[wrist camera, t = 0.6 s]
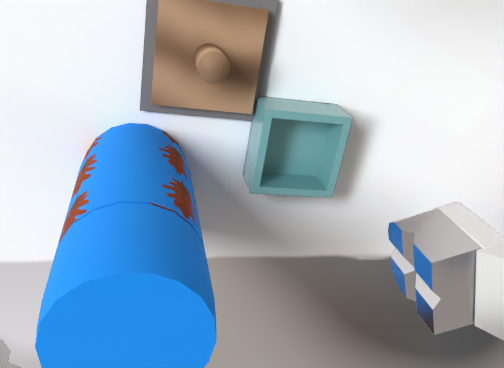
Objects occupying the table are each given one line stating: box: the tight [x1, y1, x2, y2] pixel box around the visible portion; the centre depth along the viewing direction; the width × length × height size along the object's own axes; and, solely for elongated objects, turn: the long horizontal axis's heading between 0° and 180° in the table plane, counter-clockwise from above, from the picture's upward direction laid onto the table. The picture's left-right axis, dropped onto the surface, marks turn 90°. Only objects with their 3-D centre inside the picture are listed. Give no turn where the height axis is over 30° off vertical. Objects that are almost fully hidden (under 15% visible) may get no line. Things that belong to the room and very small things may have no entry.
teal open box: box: [243, 97, 352, 198], centre depth 51 cm, size 9×9×4 cm
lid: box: [151, 0, 269, 114], centre depth 44 cm, size 10×10×5 cm
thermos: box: [35, 123, 216, 368], centre depth 40 cm, size 11×11×25 cm
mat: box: [140, 0, 278, 121], centre depth 47 cm, size 12×12×1 cm
